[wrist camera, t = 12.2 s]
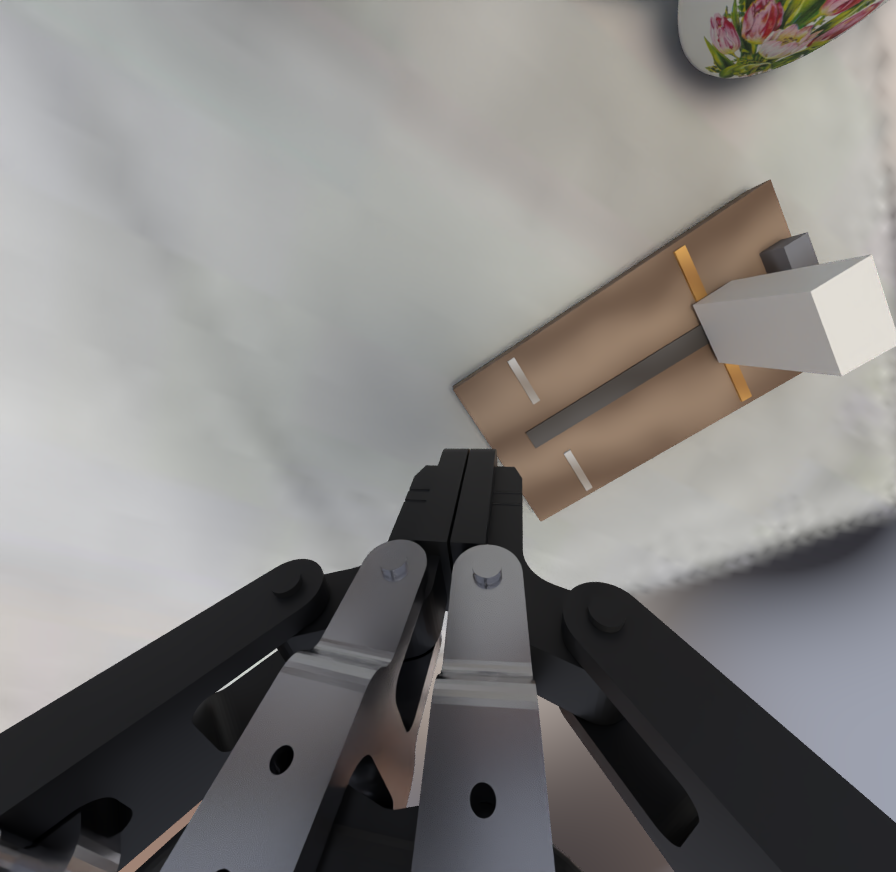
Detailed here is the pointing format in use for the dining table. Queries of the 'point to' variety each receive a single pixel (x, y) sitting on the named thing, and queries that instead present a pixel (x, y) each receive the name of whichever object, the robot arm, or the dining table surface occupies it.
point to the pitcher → (761, 31)
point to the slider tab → (801, 318)
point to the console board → (631, 361)
